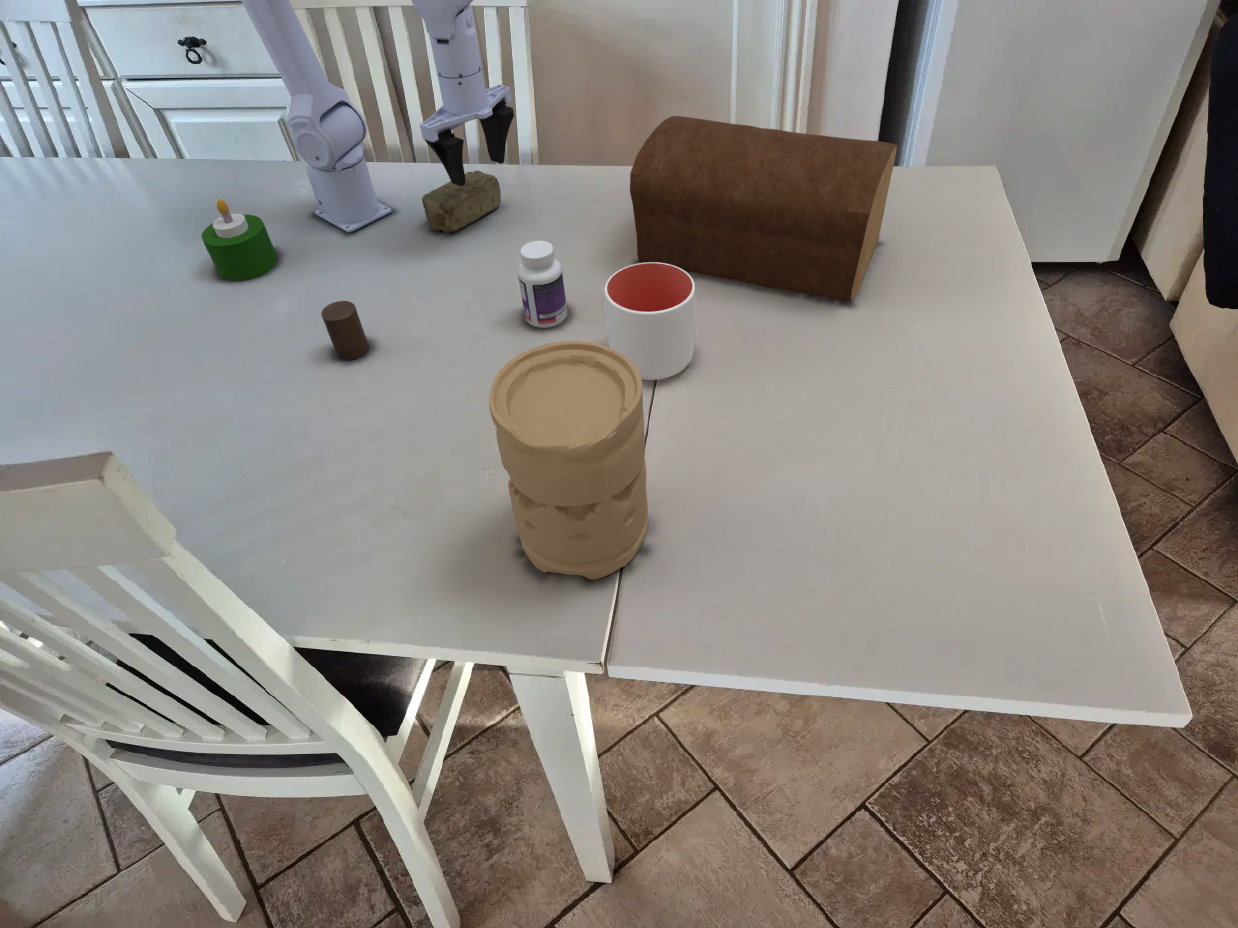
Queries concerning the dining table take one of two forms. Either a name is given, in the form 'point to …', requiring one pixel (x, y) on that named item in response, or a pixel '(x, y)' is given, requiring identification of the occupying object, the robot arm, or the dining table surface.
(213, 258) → the candle
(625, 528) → the container
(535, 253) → the pill bottle
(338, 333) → the post
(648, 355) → the cup
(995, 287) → the dining table surface
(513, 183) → the dining table surface
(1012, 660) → the dining table surface
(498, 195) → the stone block
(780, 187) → the bread
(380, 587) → the dining table surface
